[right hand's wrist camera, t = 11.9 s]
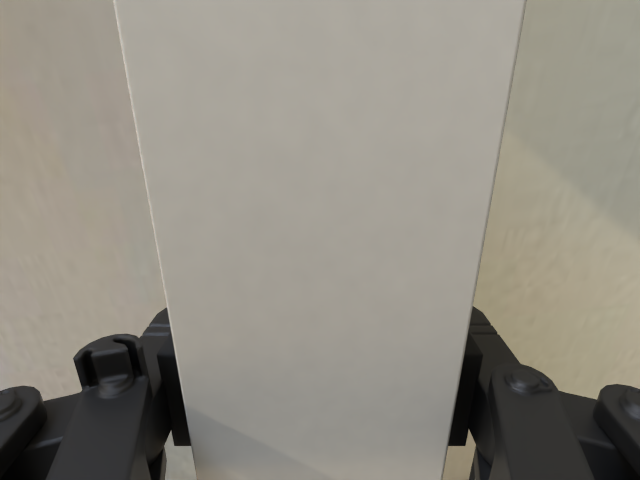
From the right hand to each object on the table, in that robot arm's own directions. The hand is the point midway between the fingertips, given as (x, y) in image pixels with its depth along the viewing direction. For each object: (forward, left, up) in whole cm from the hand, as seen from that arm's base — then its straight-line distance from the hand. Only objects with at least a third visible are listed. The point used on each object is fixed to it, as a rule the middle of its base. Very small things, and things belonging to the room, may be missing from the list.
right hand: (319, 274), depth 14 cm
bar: (+9, +1, -1) cm, 9 cm away
